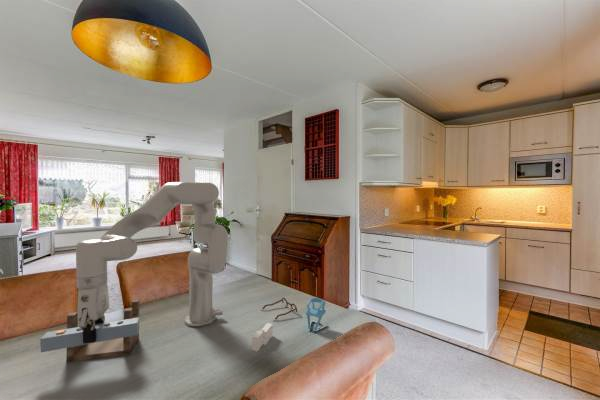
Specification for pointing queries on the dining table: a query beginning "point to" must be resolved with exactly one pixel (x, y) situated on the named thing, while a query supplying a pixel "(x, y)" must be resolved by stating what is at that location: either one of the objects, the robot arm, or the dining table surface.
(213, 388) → the dining table surface
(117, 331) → the power strip
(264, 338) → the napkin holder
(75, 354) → the rack
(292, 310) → the glasses
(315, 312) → the chair
